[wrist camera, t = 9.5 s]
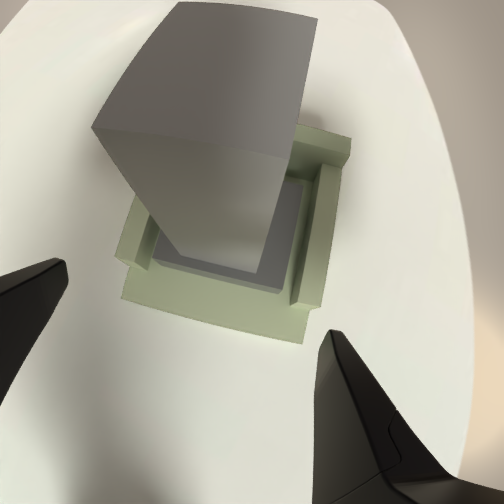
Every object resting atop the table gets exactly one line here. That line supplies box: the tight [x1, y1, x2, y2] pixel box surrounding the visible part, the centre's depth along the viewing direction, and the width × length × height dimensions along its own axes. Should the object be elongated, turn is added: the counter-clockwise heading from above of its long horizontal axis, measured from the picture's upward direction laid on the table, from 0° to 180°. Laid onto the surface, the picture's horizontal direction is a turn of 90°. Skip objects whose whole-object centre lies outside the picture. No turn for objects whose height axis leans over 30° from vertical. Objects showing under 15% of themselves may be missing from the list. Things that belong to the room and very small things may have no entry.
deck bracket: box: [115, 124, 351, 344], centre depth 17 cm, size 11×11×4 cm
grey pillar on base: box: [91, 2, 318, 294], centre depth 12 cm, size 6×7×13 cm
